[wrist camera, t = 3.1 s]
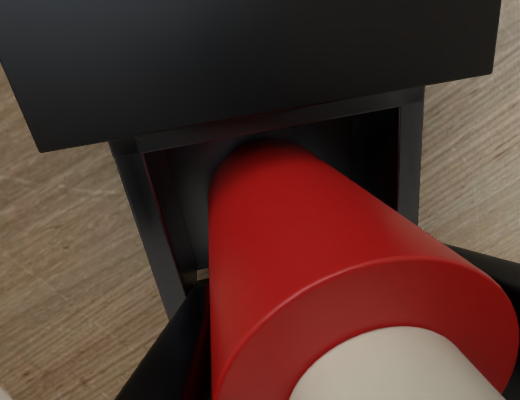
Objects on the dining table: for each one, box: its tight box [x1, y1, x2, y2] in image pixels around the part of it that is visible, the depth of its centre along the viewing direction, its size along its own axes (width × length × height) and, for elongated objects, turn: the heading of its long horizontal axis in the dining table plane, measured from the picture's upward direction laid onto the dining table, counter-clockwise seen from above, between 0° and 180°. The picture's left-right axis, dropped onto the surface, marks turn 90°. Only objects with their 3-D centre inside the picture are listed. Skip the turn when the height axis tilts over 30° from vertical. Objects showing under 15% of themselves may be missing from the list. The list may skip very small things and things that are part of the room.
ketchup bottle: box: [208, 139, 520, 400], centre depth 8 cm, size 5×5×11 cm
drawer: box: [108, 86, 425, 321], centre depth 13 cm, size 14×10×5 cm
